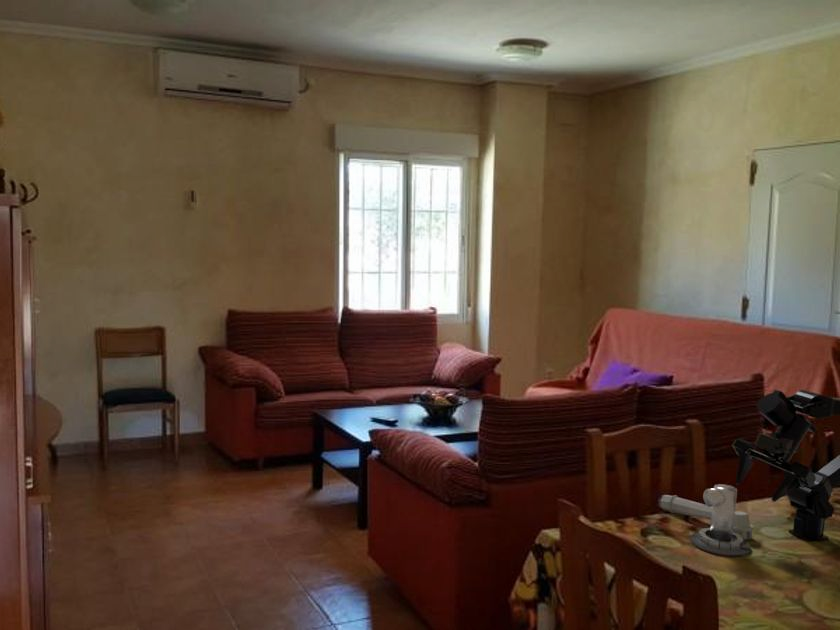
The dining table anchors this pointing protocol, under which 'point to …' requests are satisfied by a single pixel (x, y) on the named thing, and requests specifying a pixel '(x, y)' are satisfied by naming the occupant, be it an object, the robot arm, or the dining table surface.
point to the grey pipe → (704, 513)
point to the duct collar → (720, 544)
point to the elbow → (721, 511)
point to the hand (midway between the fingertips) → (754, 491)
